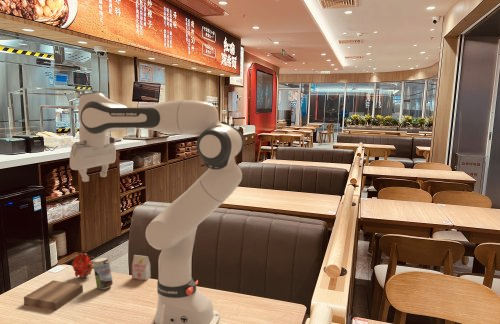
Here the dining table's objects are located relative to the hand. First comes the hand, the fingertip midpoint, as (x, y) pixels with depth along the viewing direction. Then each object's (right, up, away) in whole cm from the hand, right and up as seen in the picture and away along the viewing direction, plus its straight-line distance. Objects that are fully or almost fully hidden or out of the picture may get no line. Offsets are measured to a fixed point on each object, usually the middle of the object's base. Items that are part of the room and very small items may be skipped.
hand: (94, 179), depth 130 cm
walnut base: (-20, -47, +10) cm, 52 cm away
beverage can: (-5, -45, +20) cm, 50 cm away
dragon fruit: (-17, -44, +28) cm, 54 cm away
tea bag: (+8, -44, +29) cm, 53 cm away
